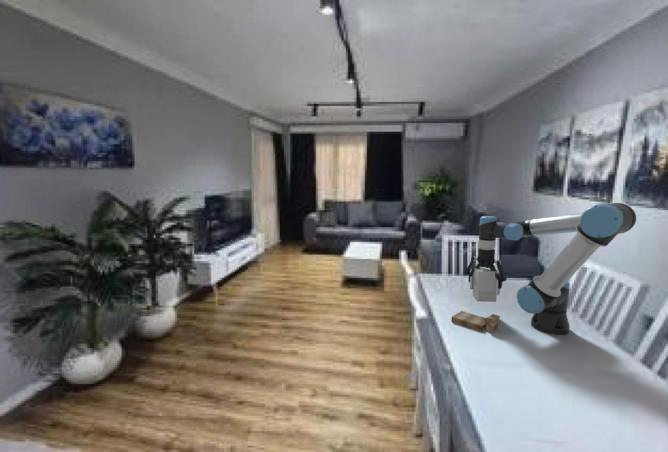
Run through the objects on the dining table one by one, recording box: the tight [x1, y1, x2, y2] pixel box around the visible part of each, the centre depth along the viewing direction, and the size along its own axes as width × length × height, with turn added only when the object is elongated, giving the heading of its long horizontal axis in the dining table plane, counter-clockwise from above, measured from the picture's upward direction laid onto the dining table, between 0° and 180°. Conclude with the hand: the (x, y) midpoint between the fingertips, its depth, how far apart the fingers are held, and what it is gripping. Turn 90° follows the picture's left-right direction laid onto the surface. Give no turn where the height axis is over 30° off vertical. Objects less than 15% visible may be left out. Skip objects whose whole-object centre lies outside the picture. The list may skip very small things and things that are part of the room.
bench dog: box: [485, 313, 501, 334], centre depth 163 cm, size 3×6×6 cm, turn 134°
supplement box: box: [472, 266, 499, 303], centre depth 178 cm, size 9×9×15 cm
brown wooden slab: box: [451, 310, 487, 332], centre depth 170 cm, size 14×10×3 cm
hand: (484, 291), depth 179 cm, fingers closed on supplement box, 12 cm apart
